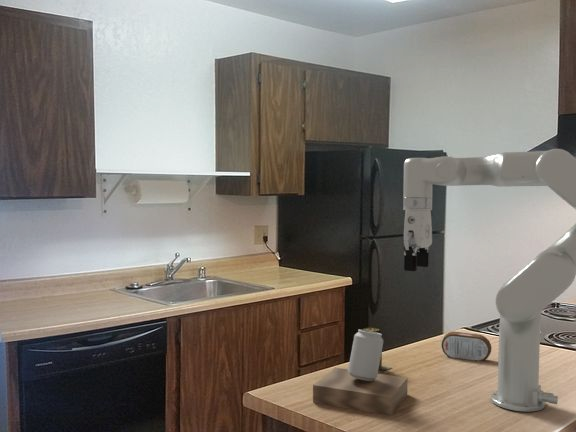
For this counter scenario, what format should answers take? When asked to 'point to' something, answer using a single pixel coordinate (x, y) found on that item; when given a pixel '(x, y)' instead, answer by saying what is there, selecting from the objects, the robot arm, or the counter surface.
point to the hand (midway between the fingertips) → (416, 268)
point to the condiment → (381, 352)
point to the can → (365, 355)
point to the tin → (466, 346)
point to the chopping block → (360, 392)
